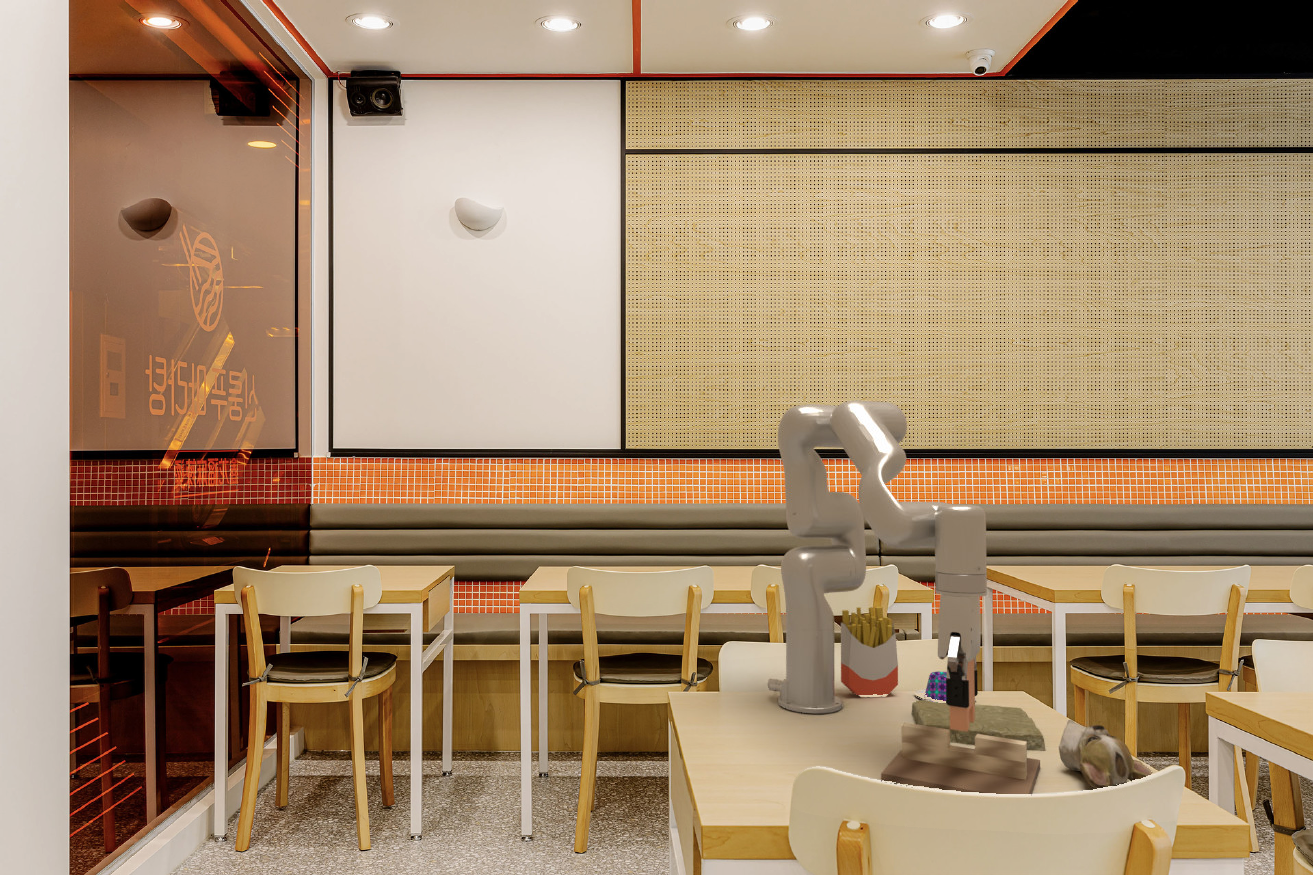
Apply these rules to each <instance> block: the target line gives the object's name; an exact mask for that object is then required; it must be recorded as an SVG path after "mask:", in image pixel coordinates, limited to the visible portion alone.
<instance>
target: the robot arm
mask: <svg viewBox="0 0 1313 875" xmlns="http://www.w3.org/2000/svg"><path fill="white" fill-rule="evenodd" d="M905 415H906V414H905V413H904V412H903V410H902V409H901V408H900V407H899V406H897V405H896V404H894V403H891V402H888V401H873V400H858V399H857V400H847V401H845V402H842V403H840V404H838V405H830V404H820V403H819V404H815V403H811V404H810V403H809V404H808V403H807V404H806V403H805V404H800V405H795V406H792V407H790V408H789V409H788V410H786V411H785V412H784V414H783V415H782V417H781V419H780V421H779V425H778V428H777V445H778V449H779V454H780V457H781V461H782V466H783V471H784V472H783V473H784V491H785V492H784V494H785V512H786V515H785V516H786V517H785V518H786V524H787V529H788V530H789V531H788V532H789V533H790V534H791V535H792V536H794V537H795V538H798V539H804V540H809V539H811V540H812V539H813V540H818V539H819V540H820V539H823V540H824V539H830V541H831V545H824V544H821V545H803V546H802V545H801V546H797V547H794V548H791V549H789V550H788V551H787V552H786V553H785V554H784V556H783V557H782V559H781V562H780V573H781V580H782V585H783V591H784V599H785V627H786V628H785V630H786V631H785V632H786V634H785V635H786V636H785V640H786V641H785V644H786V645H785V649H786V651H785V652H786V655H785V657H786V658H785V662H786V663H785V664H786V665H785V666H786V667H785V669H786V671H785V679H784V678H783V680H780V679H776V678H769V679H768V680H767V687H768V690H769V691H774V692H776V691H777V692H779V693H780V694H781V695H779V696H778V701H777V703H778V705H779V706H780V707H781V706H782V707H781V708H784V709H785V708H786V709H785V710H788V711H791V710H792V711H791V712H797V713H801V712H802V713H803V714H814V715H815V714H819V715H820V714H831V713H834V712H838V711H840V710H841V709H843V707H844V706H843V703H844V701H843V700H842V699H841V698H840V697H838V696H837V695H835V691H836V690H835V615H834V612H833V609H832V607H831V605H830V604H829V602H828V601H827V599H826V597H825V594H829V593H832V594H833V593H846V592H847V593H848V592H854V591H855V590H857V589H859V588H860V587H862V585H863V583H864V582H865V579H866V574H867V556H866V555H867V554H866V553H867V552H866V537H865V521H866V522H867V523H868V526H869V527H870V529H871V531H872V532H873V533H874V535H876V537H877V538H878V539H879V540H880V541H881V542H882V543H883V544H885V545H886V546H888V547H890V548H894V549H920V548H921V549H922V548H923V549H930V548H931V549H932V548H934V555H935V556H934V566H935V568H934V569H935V570H934V572H935V579H934V580H935V590H934V591H935V594H939V595H940V598H939V606H938V607H939V609H938V628H937V630H938V632H937V633H938V634H937V636H938V637H937V657H938V658H939V659H940V660H943V661H944V659H946V658H947V662H946V672H947V673H946V704H947V705H949V706H955V707H962V708H968V707H969V680H967V667H968V662H970V661H971V660H973V659H974V683H975V697H976V696H978V693H979V692H978V691H979V690H978V688H979V687H978V683H979V682H978V670H977V667H978V666H977V655H979V653H980V650H981V601H980V600H981V597H986V596H987V595H988V578H987V576H988V575H987V569H988V568H987V516H986V512H985V510H984V508H983V507H981V506H980V505H975V504H951V503H946V502H942V501H941V502H940V501H898V500H897V499H896V498H895V496H894V495H893V494H892V492H891V491H890V489H889V488H888V487H887V483H889V482H891V481H892V480H894V479H895V478H896V477H897V476H898V475H899V474H900V473H901V472H902V471H903V469H904V468H905V465H906V464H907V463H906V462H907V455H906V452H905V450H904V449H903V448H902V447H901V444H900V443H901V442H902V441H903V440H904V438H905V437H906V434H907V431H908V430H907V429H908V424H907V422H908V421H907V418H906V416H905ZM815 448H833V449H834V448H835V449H836V448H837V449H839V448H842V449H843V450H844V451H845V453H846V454H847V456H848V458H849V459H850V460H851V462H852V463H853V465H854V466H855V468H856V469H857V471H858V472H859V473H860V475H861V477H860V480H859V482H858V493H857V494H858V500H857V498H856V497H855V496H853V495H852V494H850V493H847V492H844V491H843V492H842V491H829V486H828V474H827V473H828V472H827V468H826V466H825V464H824V462H823V459H822V458H821V456H820V455H819V454H818V452H816V450H815ZM958 656H962V657H964V659H960V658H958ZM958 663H959V664H963V667H961V665H959V664H958ZM961 668H962V669H961ZM802 713H801V714H802Z"/></svg>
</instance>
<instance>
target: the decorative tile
mask: <svg viewBox="0 0 1313 875" xmlns="http://www.w3.org/2000/svg"><path fill="white" fill-rule="evenodd" d="M911 715H912V716H911V717H913V720H914V722H915V724H917V725H923V726H930V727H936V728H943V729H949V730H950V743H953V744H961V745H966V746H967V745H968V746H969V745H971V746H975V736H976V735H977V734H981V735H988V736H994V737H1001V738H1007V739H1014V740H1020V741H1026V742H1027V751H1038V752H1046V745H1045V744H1046V743H1045V738H1044V734H1043V733H1042V731H1041V730H1040V729H1039V728H1038V727H1037V726H1036V723H1035V722H1034V720H1033V718H1032V717H1029V716H1028V713H1027V712H1026V711H1024V709H1023V708H1021V707H1014V706H1012V707H1011V706H999V705H991V704H976V703H975V721H974V722H973V723H971V722H969V730H968V731H967V732H966V731H960V730H953V729H950V706H949V705H947V704H946V703H938V702H933V701H931V700H929V701H927V700H923V699H920V700H916V701H914V702H912V704H911Z"/></svg>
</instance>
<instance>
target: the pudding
mask: <svg viewBox="0 0 1313 875" xmlns="http://www.w3.org/2000/svg"><path fill="white" fill-rule="evenodd" d="M946 673H947V671H933V672H930V674H929V676H928V681H927V684H926V688H922V689H917V690H916V691H914V693H926V694H925V695H927V697H931V698H932V699H935V700H936V699H937V700H943V701H946ZM925 695H924V696H925ZM917 698H919V697H917ZM919 699H920V700H924V699H921V698H919ZM976 700H977V698H976V697H975V701H976ZM927 701H928V700H927Z"/></svg>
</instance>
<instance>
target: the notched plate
mask: <svg viewBox="0 0 1313 875" xmlns="http://www.w3.org/2000/svg"><path fill="white" fill-rule="evenodd" d="M958 658H960V659H964V657H962V656H958ZM958 664H959V663H958ZM959 665H961V667H963V664H959ZM961 669H962V668H961ZM974 670H975V669H974V659H973V660H971V661H970V662H968V667H967V680H969V707H968V708H962V707H955V706H950V729H953V730H960V731H966V732H967V731H968V730H969V722H971V723H973V722H974V721H975V704H976V700H975V698H976V696H975V683H974Z"/></svg>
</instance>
